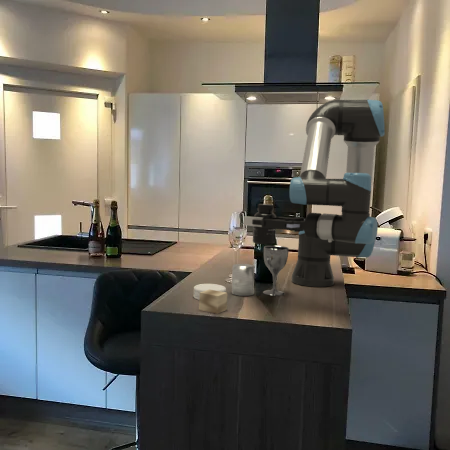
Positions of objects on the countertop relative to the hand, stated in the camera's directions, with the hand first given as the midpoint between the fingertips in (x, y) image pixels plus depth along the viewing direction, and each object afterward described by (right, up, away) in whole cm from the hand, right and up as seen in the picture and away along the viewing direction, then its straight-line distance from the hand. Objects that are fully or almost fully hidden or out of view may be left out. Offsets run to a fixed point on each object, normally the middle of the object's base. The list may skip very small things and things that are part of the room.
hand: (250, 220), depth 153 cm
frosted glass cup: (-2, -24, +4) cm, 24 cm away
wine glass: (+8, -24, +7) cm, 26 cm away
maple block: (-11, -25, -16) cm, 32 cm away
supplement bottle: (+4, -7, -2) cm, 9 cm away
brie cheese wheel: (-13, -24, -2) cm, 27 cm away
